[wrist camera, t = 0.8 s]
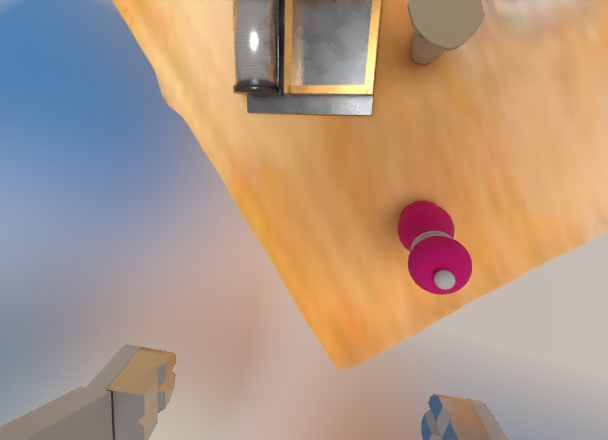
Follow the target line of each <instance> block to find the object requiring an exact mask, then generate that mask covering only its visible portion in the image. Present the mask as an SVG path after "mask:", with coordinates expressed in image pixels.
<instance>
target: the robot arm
mask: <svg viewBox="0 0 608 440" xmlns="http://www.w3.org/2000/svg"><path fill="white" fill-rule="evenodd" d="M175 364H176V354H175V353H172V352H167V351H161V350H156V349H150V348H145V347H137V346H132V345H125V346H124V347H122V348H121V349H120V350H119V351H118V352H117V353H116V354H115V356H114V357H113V358H112V359H111V360H110V361H109V362H108V363H107V365H106V366H105V367H104V368H103V369H102V370H101V371H100V372H99V373H98V374H97V376H96V377H95V378H94V379H93V380H92V381H91V382H90V384H89V385H88V386H87V387H79V388H77V389H75V390H73V391H71V392H69V393H67V394H65V395H63V396H61V397H59V398H57V399H55V400H53V401H51V402H49V403H47V404H45V405H43V406H41V407H39V408H37V409H35V410H33V411H31V412H29V413H27V414H25V415H23V416H21V417H19V418H17V419H15V420H13V421H11V422H9V423H7V424H5V425H3V426H1V427H0V440H148V439H149V437H150V435H151V433H152V431H153V430H154V428H155V426H156V424H157V415H158V413H159V412H160V411H162V410H163V409H165V408H166V406H167V404H168V402H169V400H170V397H171V394H172V392H173V389H174V384H175V373H174V372H173V370H172V369H173V367H174V365H175ZM428 404H429V406H430V410H429V411H428V412H426V413H425V414H424V416H423V419H422V422H421V423H422V424H421V433H422V439H423V440H508V439H507V437H506V435H505V434H504V432H503V431H502V429H501V427H500V426H499V424H498V423H497V421H496V419H495V418H494V416H493V415H492V413H491V412H490V410H489V409H488V407H487V405H486V404H485V403H484V402H482V401H478V400H471V399H463V398H457V397H451V396H443V395H437V394H433V395H432V396H431V397H430V400H429V402H428Z"/></svg>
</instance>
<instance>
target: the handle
mask: <svg viewBox="0 0 608 440" xmlns="http://www.w3.org/2000/svg"><path fill="white" fill-rule="evenodd" d="M408 11H409V16H410V19H411V23H412V26H413V29H414V30H415V32H414V34H413V37H412V41H411V53H412V56H413V61H414V62H415V63H423V64H425V65H427V64H429V63H430V62H432V61H434V60H435V59H436V58H438V57H439V56H440V55H441V54H442V53H443V51H444V50H445V51H450V50H453V49H456V48H458V47H459V46H461V45H463V44H464V43H465V42H466V41H467V40H468V39H469V38H470V37H471V36H472V35H473V34H474V33H475V32H476V31H477V29H478V28H479V26H480V24H481V22H482V20H483V17H484V11H483V6H482V1H481V0H409V2H408Z"/></svg>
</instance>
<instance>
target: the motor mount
mask: <svg viewBox="0 0 608 440" xmlns="http://www.w3.org/2000/svg"><path fill="white" fill-rule="evenodd" d="M381 10H382V0H233V25H234V54H235V83H236V85H234V86H233V89H234V93H236V94H241V95H247V108H248V112H249V113H285V114H329V115H372V105H373V94H374V84H375V73H376V63H377V52H378V42H379V31H380V21H381Z"/></svg>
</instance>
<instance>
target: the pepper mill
mask: <svg viewBox="0 0 608 440" xmlns="http://www.w3.org/2000/svg"><path fill="white" fill-rule="evenodd" d="M398 235H399V238H400V241H401V242H402V244H403V246H404V247H405V248H406V249H407V250H409V251H410V254H409V258H408V269H409V272H410V275H411V277H412V279H413V280H414V281H415V283H416V284H417V285H418V286H420V287H421V288H422V289H424V290H426V291H428V292H430V293H434V294H441V295H442V294H450V293H454V292H456V291H458V290H460V289H461V288H462V287H463V286H464V285H465V284H466V283H467V282H468V280H469V278H470V276H471V273H472V261H471V258H470V255H469V253H468V251H467V250H466V249H465V247H464V246H463V245H461V244H460V243H459V242H458V241H456V240H454V239H453V236H454V225H453V222H452V219H451V217H450V216H449V215H448V213H447V212H446V211H445V210H443V209H442V208H440V207H438V206H436V205H435V204H433V203H430V202H426V201H419V202H415V203H413V204H411V205H409V206H408V207H407V208H405V210H404V211H403V213H402V215H401V218H400V221H399V224H398Z"/></svg>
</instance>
